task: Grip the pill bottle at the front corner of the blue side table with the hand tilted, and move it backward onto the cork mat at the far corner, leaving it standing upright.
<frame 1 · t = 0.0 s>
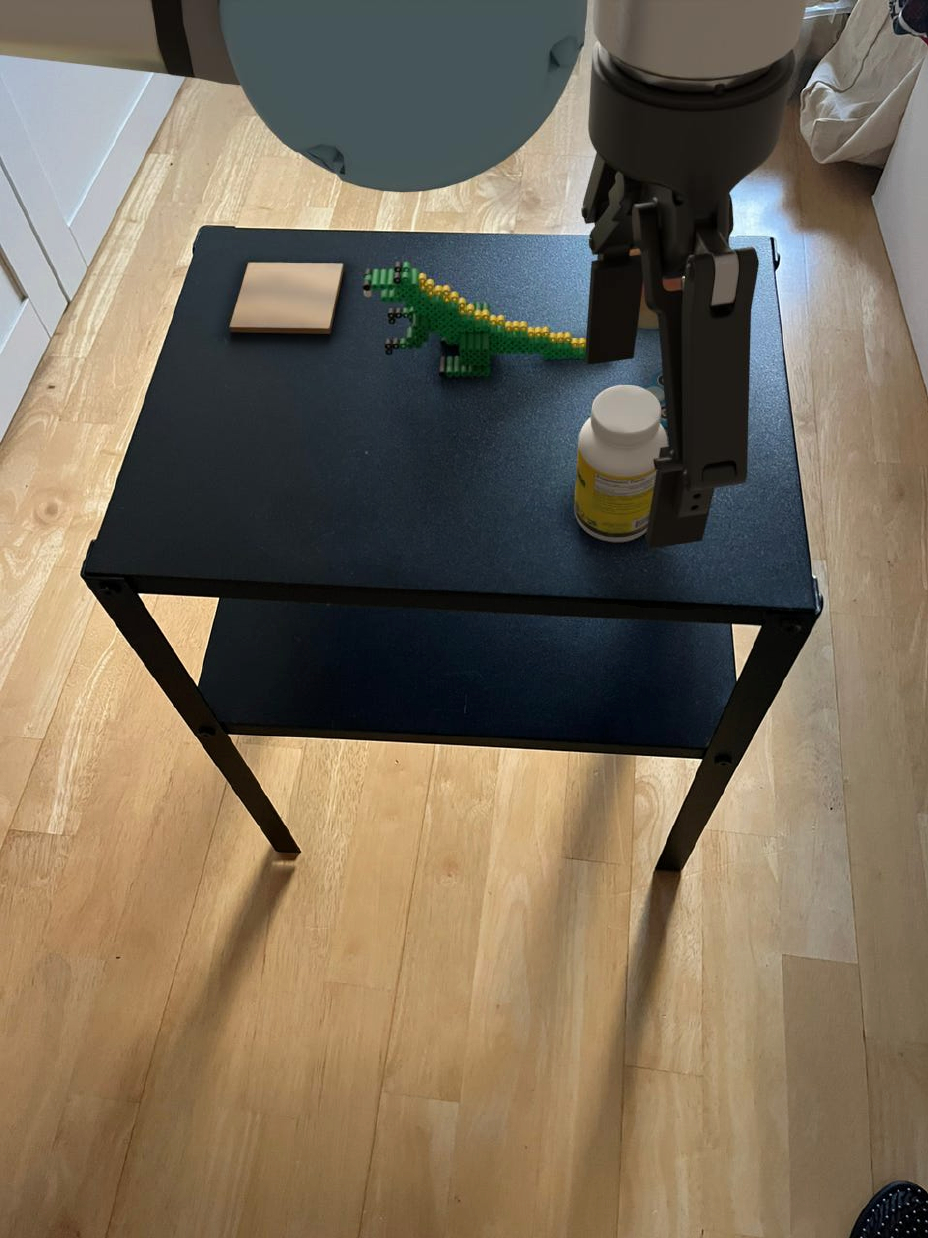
hand: (639, 442, 56), 20 cm above the table, tool pointing down, fingers open, 13 cm apart
green brick dinosaur: (490, 354, 90), on the table
apple: (649, 313, 92), on the table
pill bottle: (613, 515, 79), on the table
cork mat: (288, 299, 95), on the table
toy: (646, 403, 85), on the table
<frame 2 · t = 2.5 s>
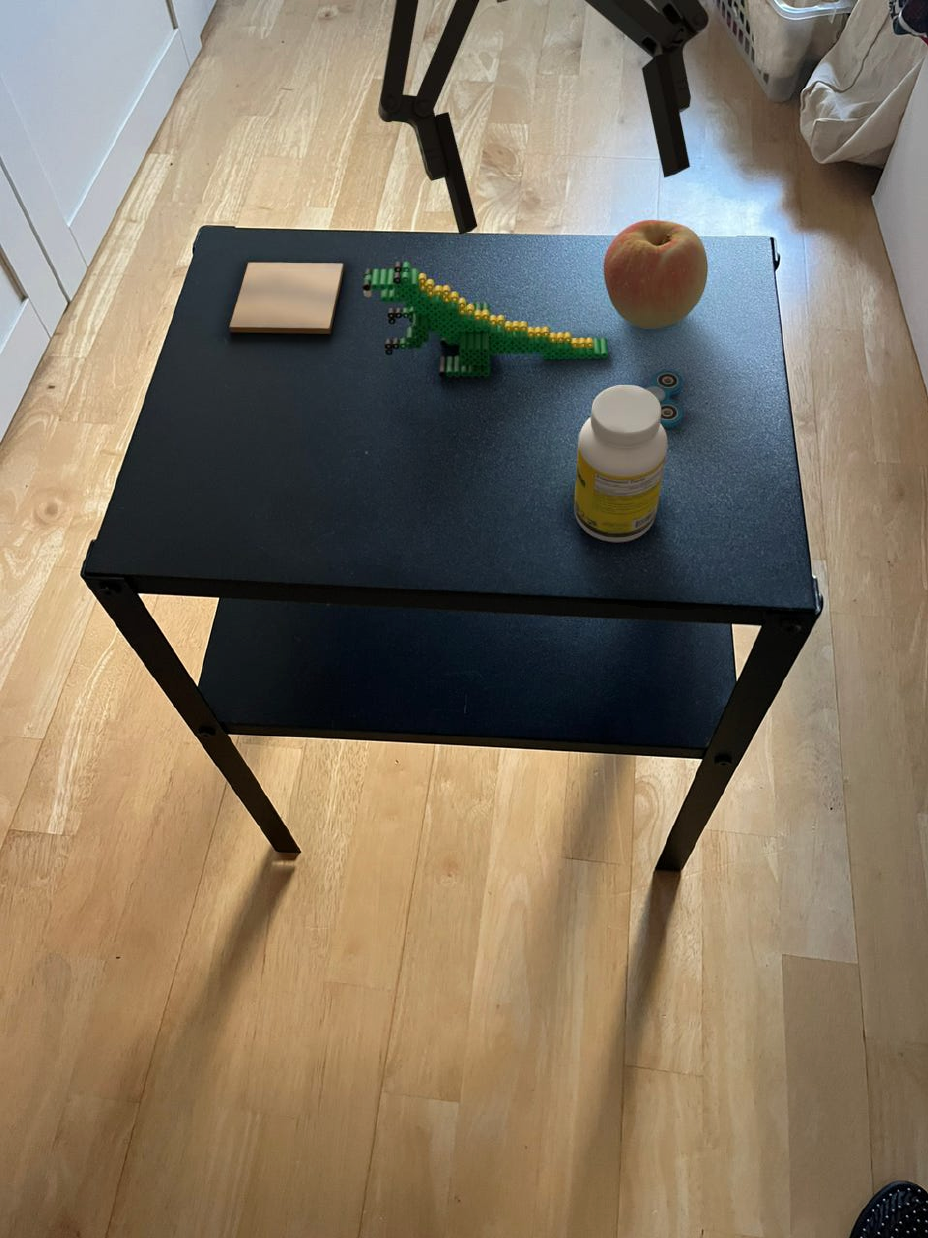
hand: (573, 202, 64), 22 cm above the table, tool tilted 40°, fingers open, 13 cm apart
nothing on the table moved.
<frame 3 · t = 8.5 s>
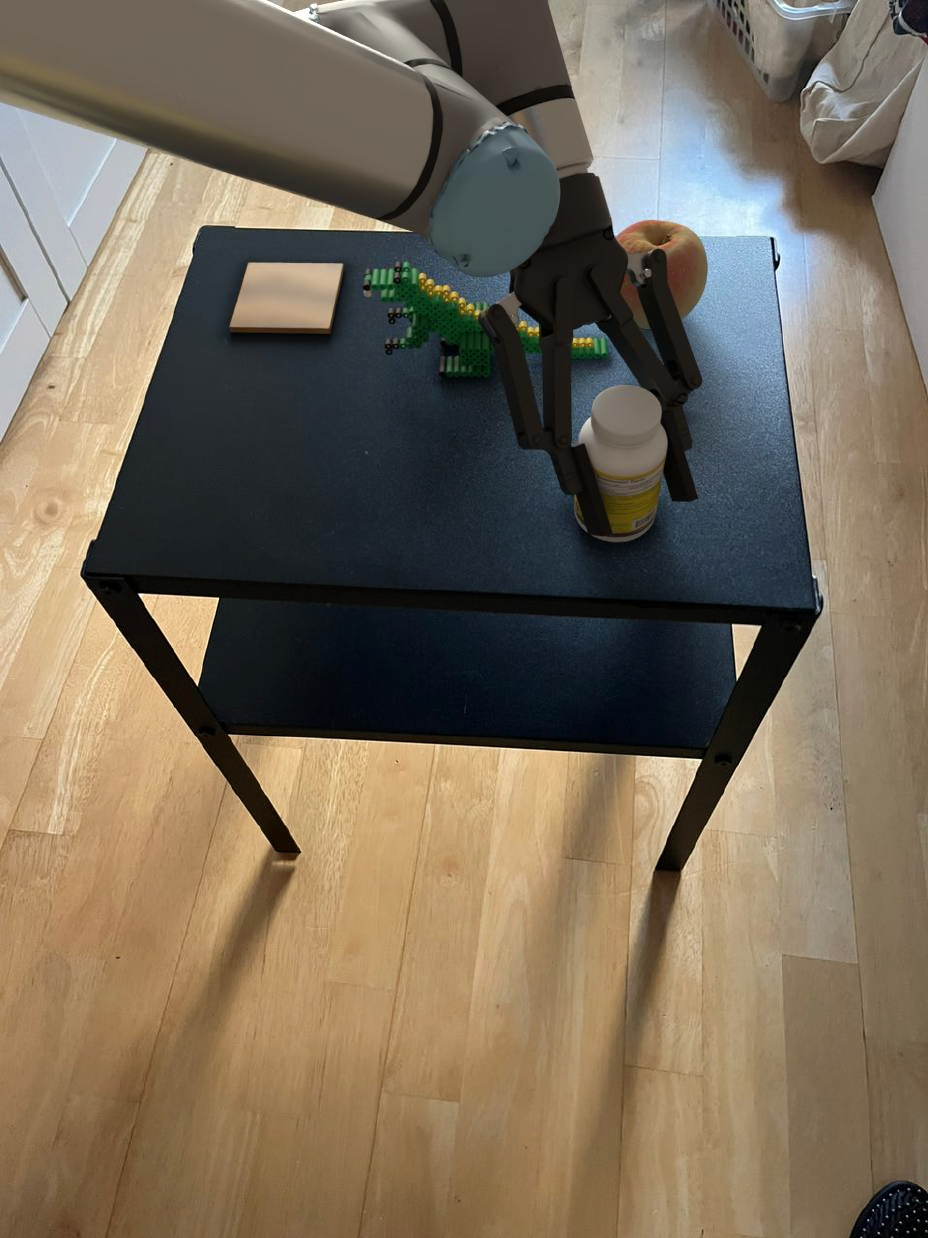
hand: (642, 516, 74), 4 cm above the table, tool tilted 45°, fingers closed on pill bottle, 6 cm apart
pill bottle: (613, 515, 79), on the table, touching gripper
everything else where it was.
when the fingers open (4 cm above the table, at t = 19.4 s): pill bottle stays where it is, resting on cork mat.
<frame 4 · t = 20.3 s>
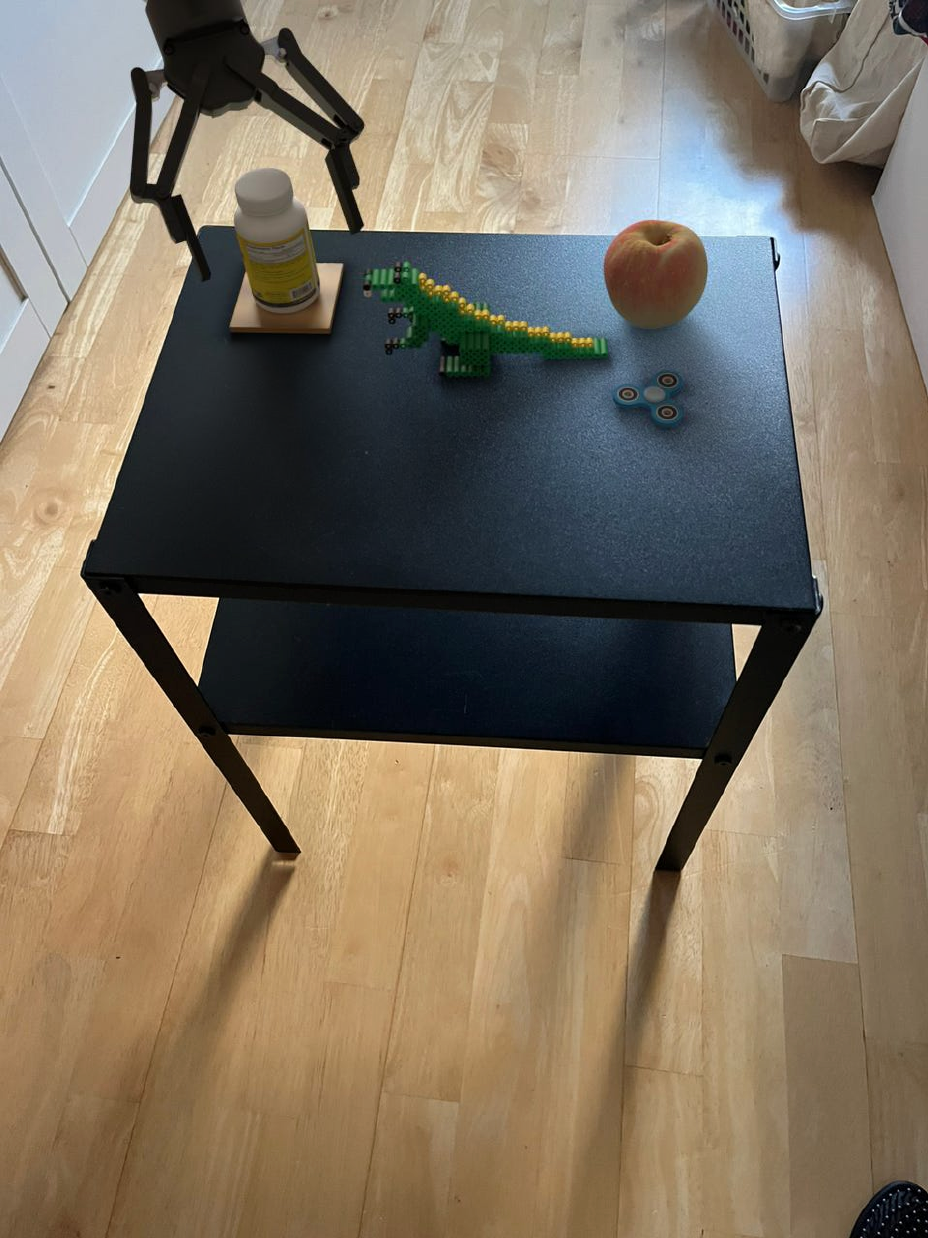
hand: (283, 254, 88), 6 cm above the table, tool tilted 45°, fingers open, 13 cm apart
pill bottle: (287, 295, 94), resting on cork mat
everything else where it was.
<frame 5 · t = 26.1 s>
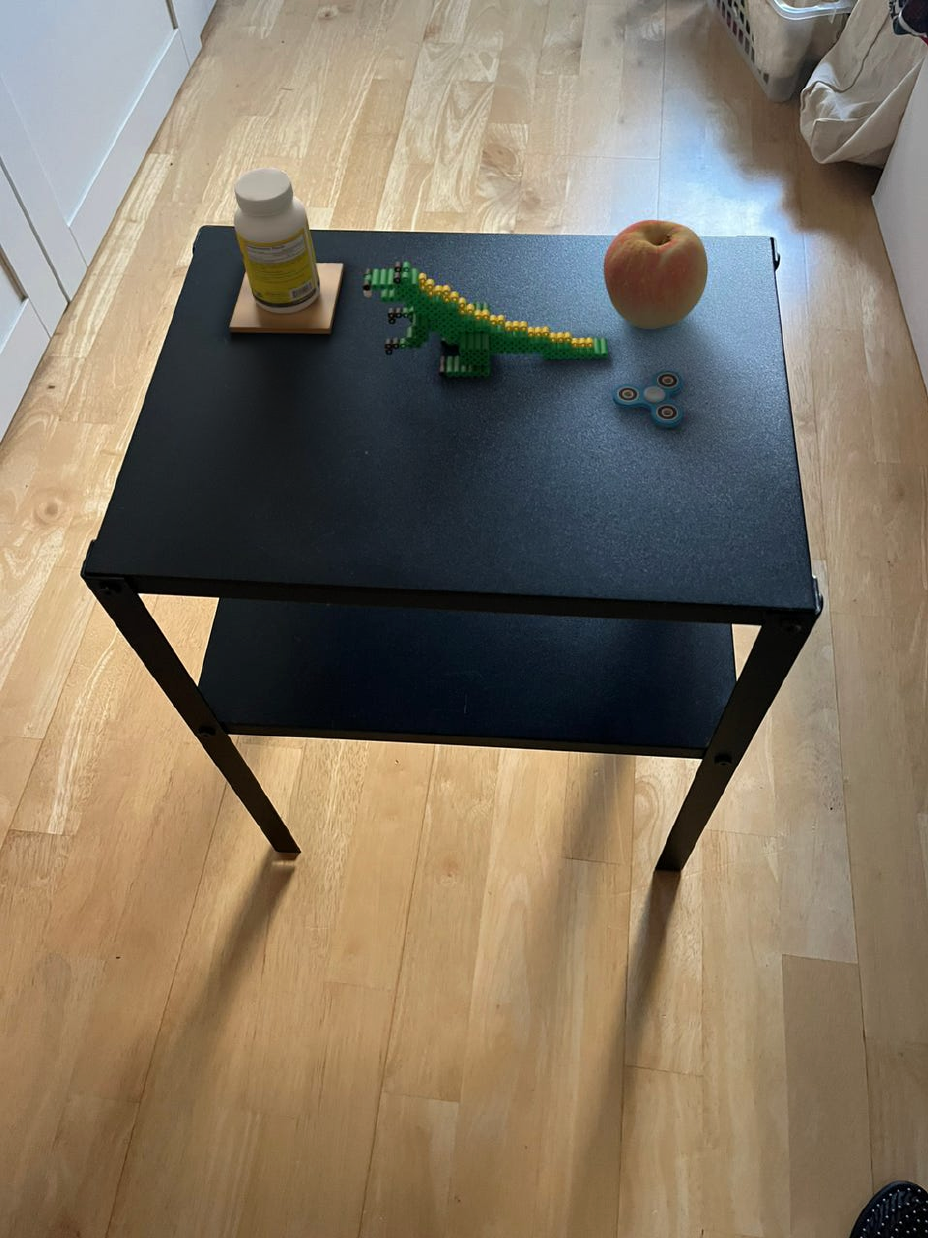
nothing on the table moved.
at the end: pill bottle inside the target area on the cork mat (0.1 cm from its centre), point 0.4 cm above the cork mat's base; pill bottle tilted 0°; pill bottle moved 38.0 cm from its start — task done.
